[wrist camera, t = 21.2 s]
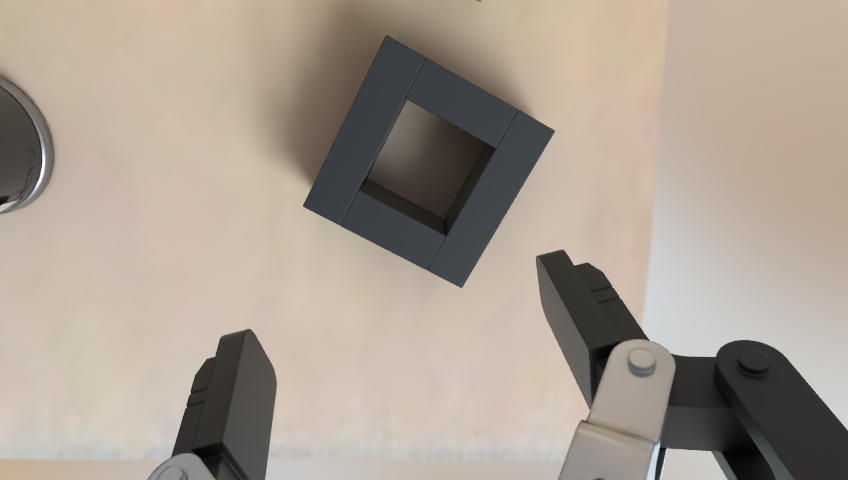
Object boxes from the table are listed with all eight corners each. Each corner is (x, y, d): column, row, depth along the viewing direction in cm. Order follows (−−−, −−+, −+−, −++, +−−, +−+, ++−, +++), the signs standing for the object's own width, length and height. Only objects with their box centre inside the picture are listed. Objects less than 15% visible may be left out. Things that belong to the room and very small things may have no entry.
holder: (317, 193, 36) (302, 206, 32) (391, 42, 34) (386, 34, 29) (457, 266, 38) (461, 288, 33) (539, 126, 35) (555, 131, 31)
